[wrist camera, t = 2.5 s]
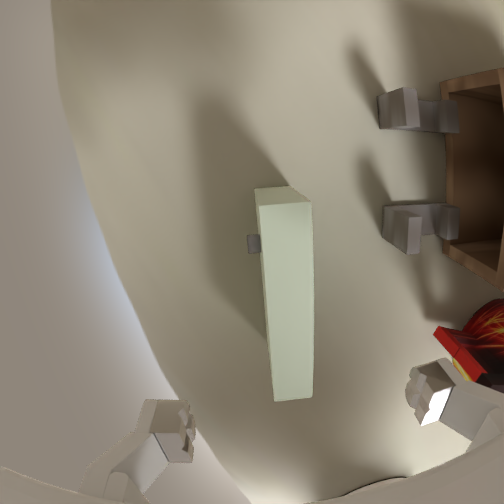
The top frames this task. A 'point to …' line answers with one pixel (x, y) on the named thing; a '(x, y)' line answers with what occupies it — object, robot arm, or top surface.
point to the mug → (479, 346)
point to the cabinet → (456, 172)
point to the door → (287, 287)
